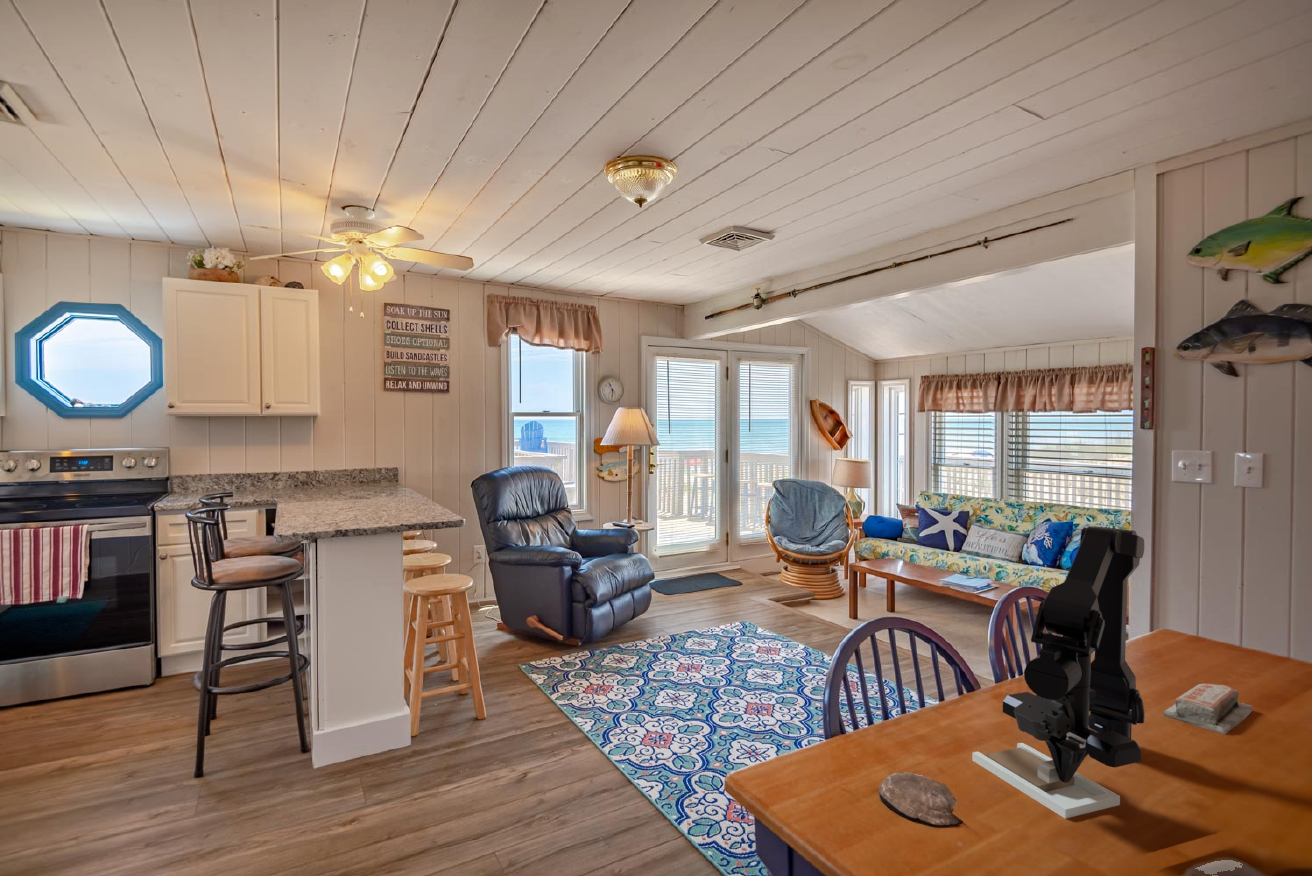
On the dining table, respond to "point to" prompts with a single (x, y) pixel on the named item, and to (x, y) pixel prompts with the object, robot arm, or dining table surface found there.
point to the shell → (919, 799)
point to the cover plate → (1030, 768)
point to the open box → (1061, 801)
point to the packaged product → (1210, 708)
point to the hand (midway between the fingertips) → (1064, 781)
